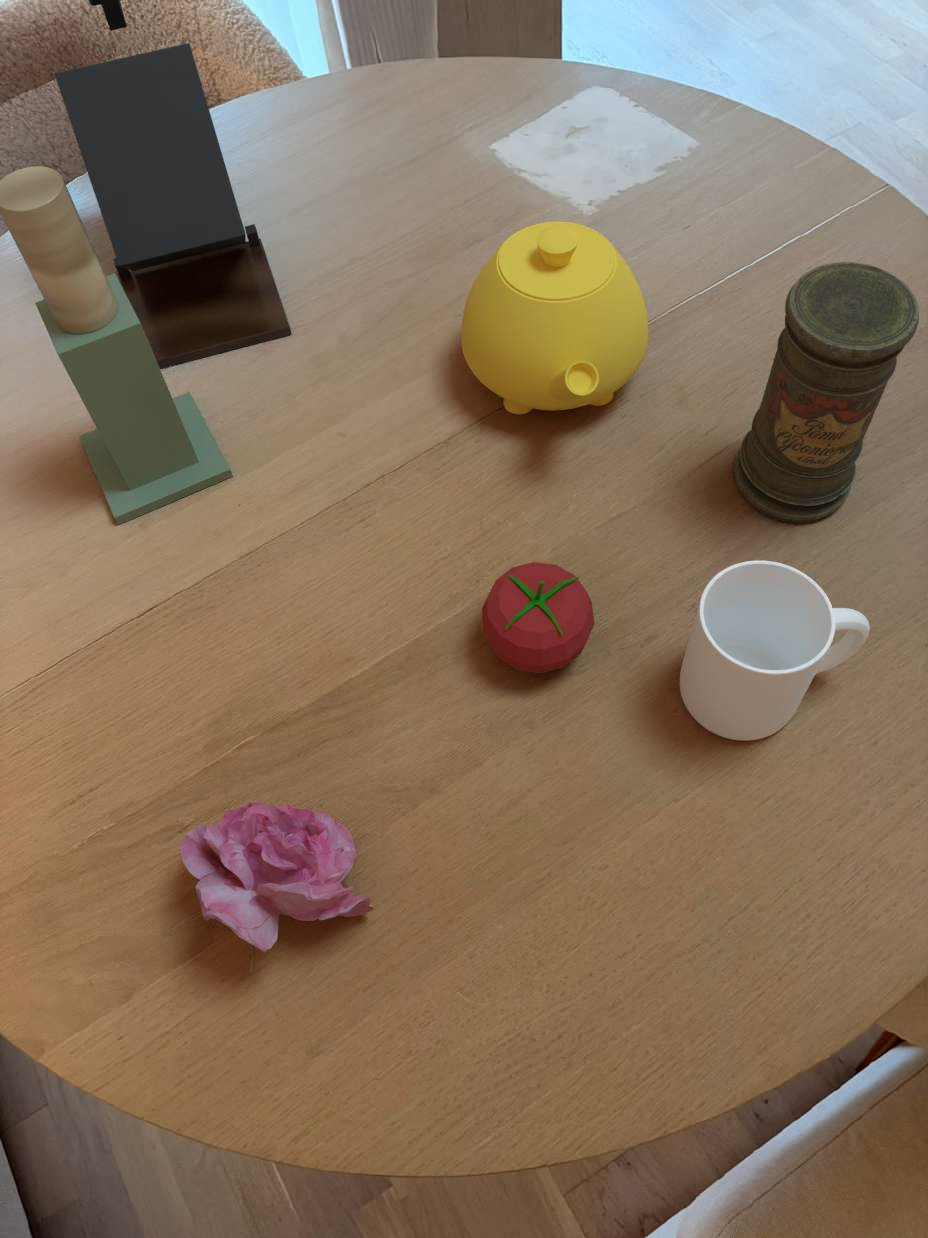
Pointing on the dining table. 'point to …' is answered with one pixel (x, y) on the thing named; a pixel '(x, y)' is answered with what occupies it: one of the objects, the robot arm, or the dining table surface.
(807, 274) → the container
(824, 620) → the mug
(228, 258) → the bin stand
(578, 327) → the teapot
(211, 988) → the dining table surface
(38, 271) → the cylinder
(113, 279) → the pedestal
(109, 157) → the bin
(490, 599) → the tomato
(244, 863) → the flower
